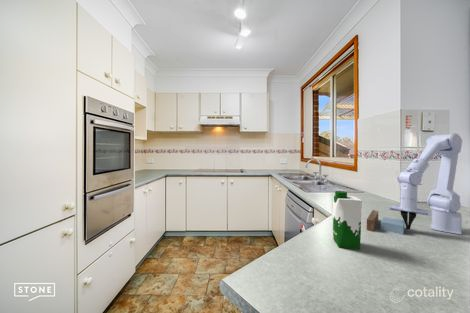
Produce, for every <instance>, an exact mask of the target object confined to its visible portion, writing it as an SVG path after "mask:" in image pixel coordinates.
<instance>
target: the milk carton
mask: <svg viewBox="0 0 470 313" xmlns="http://www.w3.org/2000/svg"><path fill="white" fill-rule="evenodd" d="M332 205H333V206H332V208H333V210H332V211H333V213H332V214H333V215H332V221H333V222H332V223H333V224H332V234H333V235H332V236H333V241H334V242H335V244H336V245H337V247H338V248H340V249H350V250H358V251H359V250H361V236H362V235H361V233H362V206H363V199H360V198H359V197H356V196H354V195H348V192H347V191H343V190H335V191H334V195H332Z"/></svg>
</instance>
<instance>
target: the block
mask: <svg viewBox="0 0 470 313" xmlns="http://www.w3.org/2000/svg"><path fill="white" fill-rule="evenodd" d="M405 227H406V225H405V222H404V220H403V219H398V218H392V217H387V216H383V217H382V219H381V221H380V231H384V232H389V233H393V234H398V235H404V233H405Z"/></svg>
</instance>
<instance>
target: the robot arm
mask: <svg viewBox="0 0 470 313" xmlns="http://www.w3.org/2000/svg"><path fill="white" fill-rule="evenodd" d="M425 143H426V146H425V148H424V149H423V151H422V153H421V154H420V156H419V157H418V158H414V159H413V160H412V161H411V163H410V164H409V165H408V166H407V168H406V169H405V170H403V171H401V172H399V173H398V175H397V177H396V179H397V182H398V185H399V188H400V192H399V193H400V195H399V196H400V199H399V200H400V204H399V205H390V204H388V205H387V211H394V212H395V211H396V212H400V215H401V218H402V220H404V222H405V229H406V230H409V231H410V230H411V227H412V224H413V222H414V220H415V219H416V217H417V215H422V216H427V217H431V223H430V224H429V227H430V229H431V230H434V231H437V232H438V231H439V232H444V233H451V234H457V235H460V236H461V235H462V234H463V233H462V229H463V228H462V226H463V225H462V221H463V219H462V218H463V217H462V213H461V212H458V211H459V210H460V209H461V206H462V204H461V199H460V198H461V196H460V195H459V194H458V193H457V192H455V191H454V185H455V184H454V183H455V178H456V172H457V165H458V158H459V154H460V153H461V151H462V145H463V144H462V143H463V139H462V137H461V136H460V135H459V133H447V134H432V135H430V136H429V137H428V138H427V139H426V142H425ZM437 153H438V154H440V156H441V158H440V166H439V170H438V177H437V182H436V188H434V189H432V190H430V191H429V194H428V196H427V199H426V203H427V205H428V206H429V207H430V209H431V210H426V209H422V208H418V187H419V185H421V183H422V180H423V176H424V175H423V174H424V172H426V170H427V169H428V168H429V166H430V163H429V161H430V160H431V159H432V158H433V157H434V156H435V155H436V154H437Z"/></svg>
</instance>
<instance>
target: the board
mask: <svg viewBox="0 0 470 313" xmlns="http://www.w3.org/2000/svg"><path fill="white" fill-rule="evenodd" d="M378 222H379V210H376V209H375V210H373V209H372V211H371V212H370V213H369V215H368V216H367V218H366V231H368V232H369V231H370V232H374V231H375V228H376V226H377V225H378Z"/></svg>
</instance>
